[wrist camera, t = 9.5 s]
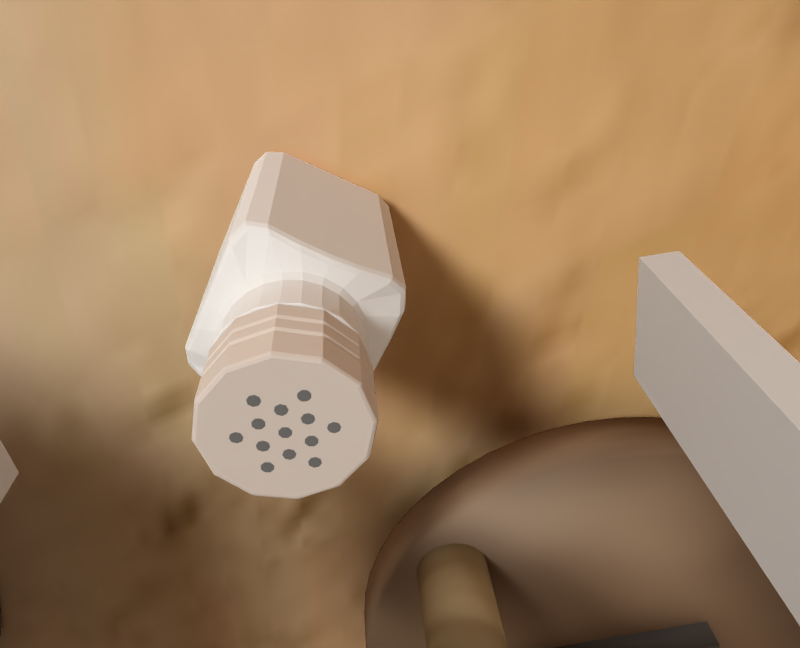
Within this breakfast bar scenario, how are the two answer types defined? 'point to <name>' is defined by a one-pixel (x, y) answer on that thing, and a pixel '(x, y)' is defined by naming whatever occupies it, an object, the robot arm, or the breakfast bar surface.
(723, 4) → the breakfast bar surface
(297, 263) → the pepper shaker
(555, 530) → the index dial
